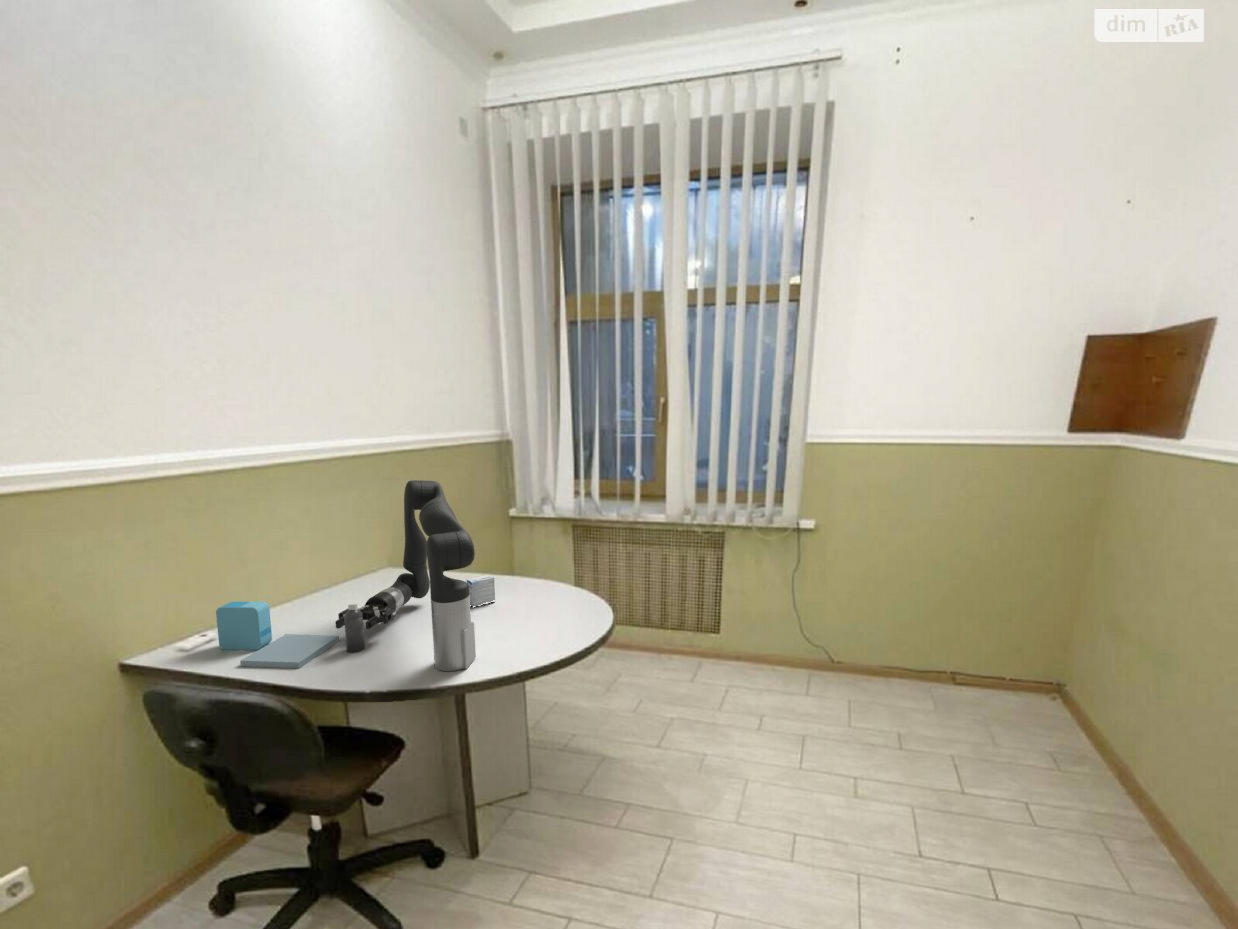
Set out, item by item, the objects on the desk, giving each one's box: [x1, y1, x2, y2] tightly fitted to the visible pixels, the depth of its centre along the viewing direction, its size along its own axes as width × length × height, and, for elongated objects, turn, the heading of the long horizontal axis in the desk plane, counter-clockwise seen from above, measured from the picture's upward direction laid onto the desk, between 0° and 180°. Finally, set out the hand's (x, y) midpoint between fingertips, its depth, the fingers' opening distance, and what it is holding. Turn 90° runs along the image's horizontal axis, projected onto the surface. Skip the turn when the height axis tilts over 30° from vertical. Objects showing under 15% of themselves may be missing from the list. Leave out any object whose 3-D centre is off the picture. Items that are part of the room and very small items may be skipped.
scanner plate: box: [239, 633, 340, 669], centre depth 141 cm, size 16×16×2 cm
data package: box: [215, 601, 273, 651], centre depth 145 cm, size 12×4×12 cm, turn 86°
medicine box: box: [466, 574, 496, 607], centre depth 174 cm, size 8×4×9 cm, turn 130°
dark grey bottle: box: [344, 603, 366, 654], centre depth 142 cm, size 4×4×12 cm
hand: (352, 625), depth 141 cm, fingers open, 8 cm apart
